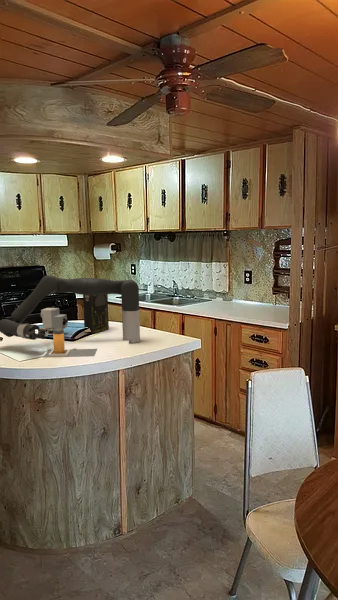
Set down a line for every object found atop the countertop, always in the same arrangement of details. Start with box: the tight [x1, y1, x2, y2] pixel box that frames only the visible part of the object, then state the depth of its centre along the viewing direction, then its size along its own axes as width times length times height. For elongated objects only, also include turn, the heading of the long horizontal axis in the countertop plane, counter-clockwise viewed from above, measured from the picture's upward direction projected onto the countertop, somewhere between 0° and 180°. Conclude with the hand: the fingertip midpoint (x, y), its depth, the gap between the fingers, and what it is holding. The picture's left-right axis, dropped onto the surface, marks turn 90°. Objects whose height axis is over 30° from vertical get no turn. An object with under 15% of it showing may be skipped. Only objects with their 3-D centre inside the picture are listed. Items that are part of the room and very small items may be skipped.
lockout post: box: [52, 328, 66, 354], centre depth 219 cm, size 5×5×12 cm
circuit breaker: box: [40, 307, 69, 329], centre depth 269 cm, size 8×14×15 cm, turn 78°
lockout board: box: [42, 347, 98, 359], centre depth 222 cm, size 24×14×3 cm, turn 92°
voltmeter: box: [82, 294, 110, 334], centre depth 275 cm, size 16×9×25 cm, turn 148°
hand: (51, 334), depth 222 cm, fingers open, 8 cm apart
